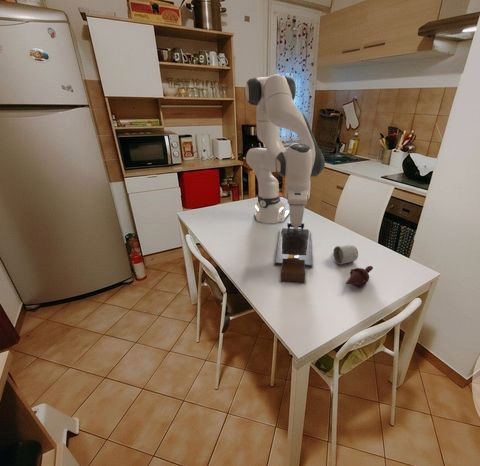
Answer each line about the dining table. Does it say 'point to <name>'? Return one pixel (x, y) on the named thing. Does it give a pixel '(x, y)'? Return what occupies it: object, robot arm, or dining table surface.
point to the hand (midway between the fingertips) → (295, 226)
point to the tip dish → (294, 240)
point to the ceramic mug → (345, 254)
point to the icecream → (359, 276)
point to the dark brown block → (293, 271)
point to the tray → (285, 256)
